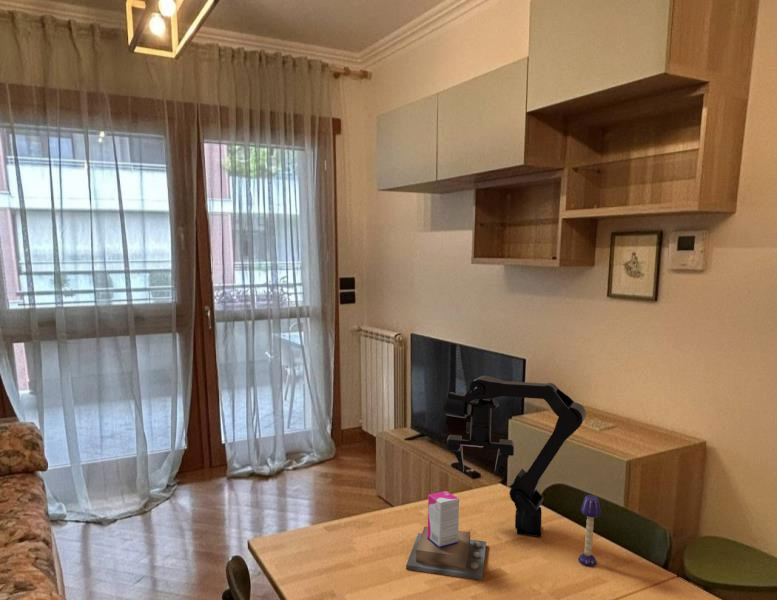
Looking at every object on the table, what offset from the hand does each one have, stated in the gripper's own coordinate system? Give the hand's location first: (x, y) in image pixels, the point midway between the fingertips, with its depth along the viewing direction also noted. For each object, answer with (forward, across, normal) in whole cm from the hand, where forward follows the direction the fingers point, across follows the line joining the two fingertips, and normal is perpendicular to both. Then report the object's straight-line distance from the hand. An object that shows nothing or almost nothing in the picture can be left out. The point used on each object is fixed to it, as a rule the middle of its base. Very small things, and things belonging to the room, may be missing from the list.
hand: (478, 473), depth 154 cm
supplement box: (+9, +8, +23) cm, 26 cm away
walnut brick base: (+13, +7, +22) cm, 27 cm away
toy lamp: (+13, -28, +18) cm, 35 cm away
